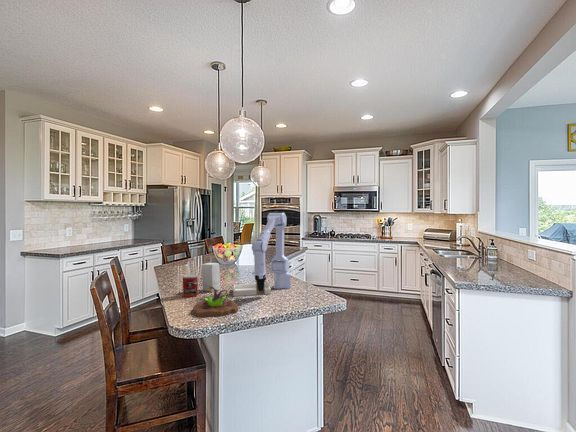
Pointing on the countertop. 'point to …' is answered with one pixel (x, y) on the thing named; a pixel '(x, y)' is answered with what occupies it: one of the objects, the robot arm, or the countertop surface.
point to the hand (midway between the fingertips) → (260, 289)
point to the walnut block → (260, 291)
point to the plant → (215, 306)
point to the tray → (249, 289)
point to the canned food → (190, 285)
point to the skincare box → (211, 276)
